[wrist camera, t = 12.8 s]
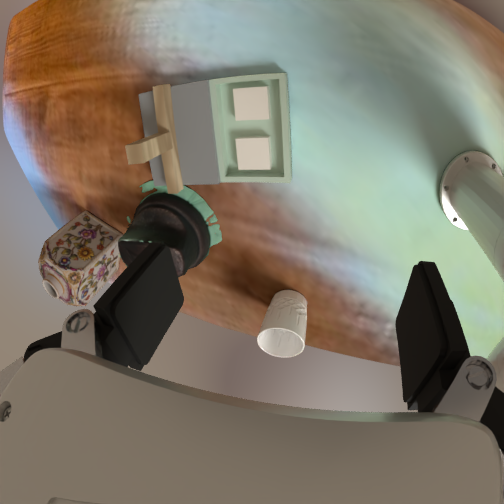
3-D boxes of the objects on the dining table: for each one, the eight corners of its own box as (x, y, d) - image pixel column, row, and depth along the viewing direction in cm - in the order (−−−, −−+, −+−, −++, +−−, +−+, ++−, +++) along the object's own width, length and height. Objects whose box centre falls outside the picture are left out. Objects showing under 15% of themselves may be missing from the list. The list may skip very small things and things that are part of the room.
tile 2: (235, 138, 35) (238, 136, 37) (238, 169, 38) (241, 166, 39) (268, 137, 34) (270, 135, 36) (270, 169, 37) (272, 166, 38)
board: (214, 79, 33) (206, 79, 30) (225, 177, 41) (218, 184, 39) (149, 92, 36) (138, 94, 33) (163, 179, 44) (154, 186, 41)
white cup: (285, 322, 55) (276, 362, 47) (260, 297, 53) (247, 336, 45) (318, 307, 51) (313, 349, 43) (293, 280, 49) (284, 321, 41)
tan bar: (172, 83, 32) (133, 87, 24) (185, 188, 40) (154, 215, 33) (158, 86, 32) (117, 91, 25) (172, 188, 41) (139, 214, 34)
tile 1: (232, 88, 32) (236, 88, 33) (235, 120, 34) (238, 119, 35) (266, 86, 30) (269, 86, 32) (269, 119, 33) (271, 118, 34)
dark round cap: (146, 271, 58) (124, 299, 50) (116, 186, 47) (84, 208, 40) (231, 276, 52) (214, 311, 45) (209, 173, 42) (182, 196, 34)
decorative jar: (85, 207, 52) (27, 253, 37) (125, 233, 53) (68, 288, 38) (83, 246, 59) (35, 292, 44) (119, 270, 60) (73, 323, 45)
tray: (287, 73, 30) (285, 72, 29) (292, 177, 39) (290, 182, 37) (214, 79, 33) (208, 79, 31) (225, 177, 41) (220, 182, 39)
